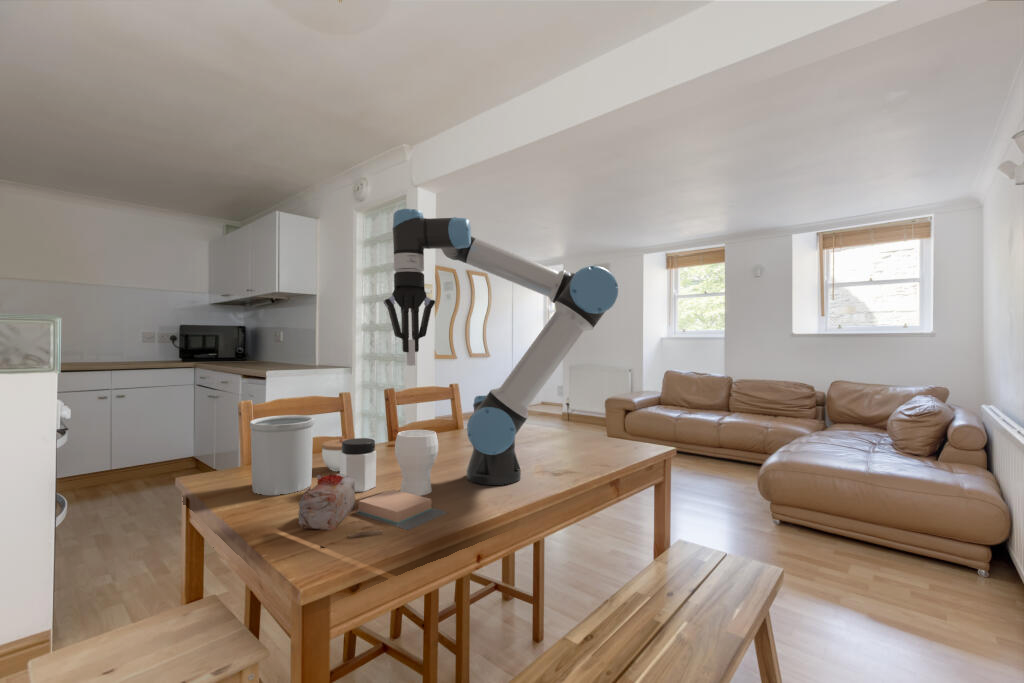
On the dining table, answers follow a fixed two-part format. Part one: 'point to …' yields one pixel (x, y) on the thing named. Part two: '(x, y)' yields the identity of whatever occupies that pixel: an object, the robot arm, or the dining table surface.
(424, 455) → the cup
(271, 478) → the utensil holder
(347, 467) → the jar
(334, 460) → the lidded jar
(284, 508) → the dining table surface
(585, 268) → the robot arm
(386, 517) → the tile
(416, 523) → the mat
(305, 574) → the dining table surface
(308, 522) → the food item
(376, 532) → the spatula
